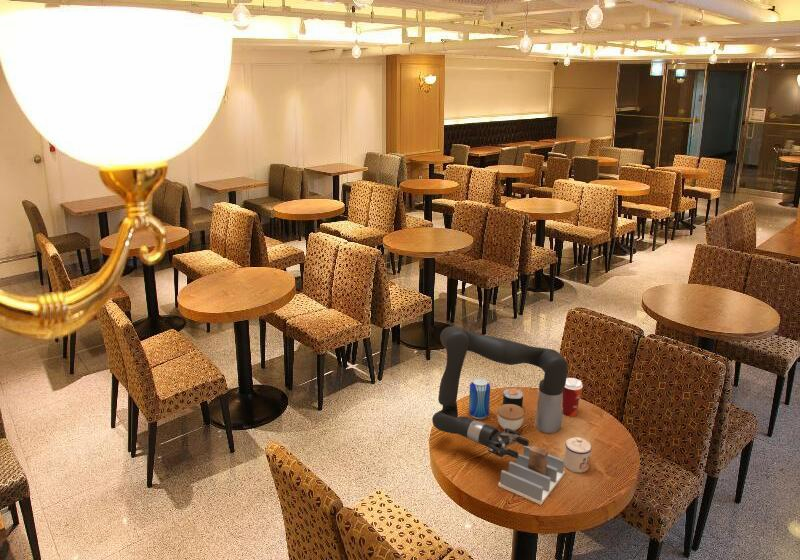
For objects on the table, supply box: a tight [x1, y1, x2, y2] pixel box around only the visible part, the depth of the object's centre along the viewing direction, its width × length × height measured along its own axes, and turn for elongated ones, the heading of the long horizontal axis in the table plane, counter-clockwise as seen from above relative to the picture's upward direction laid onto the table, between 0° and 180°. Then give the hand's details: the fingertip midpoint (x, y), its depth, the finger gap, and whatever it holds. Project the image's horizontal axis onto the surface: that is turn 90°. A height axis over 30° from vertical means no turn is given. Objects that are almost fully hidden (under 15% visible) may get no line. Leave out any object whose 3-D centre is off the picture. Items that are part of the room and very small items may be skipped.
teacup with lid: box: [563, 436, 592, 474], centre depth 215 cm, size 12×9×12 cm
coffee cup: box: [561, 377, 583, 418], centre depth 246 cm, size 8×8×15 cm
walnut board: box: [528, 445, 549, 476], centre depth 205 cm, size 6×3×12 cm, turn 54°
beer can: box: [468, 377, 491, 420], centre depth 245 cm, size 8×8×16 cm
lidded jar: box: [496, 404, 525, 431], centre depth 238 cm, size 11×11×9 cm
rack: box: [498, 445, 566, 506], centre depth 207 cm, size 16×20×6 cm
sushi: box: [502, 388, 524, 409], centre depth 252 cm, size 8×8×8 cm
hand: (523, 449), depth 207 cm, fingers open, 8 cm apart
